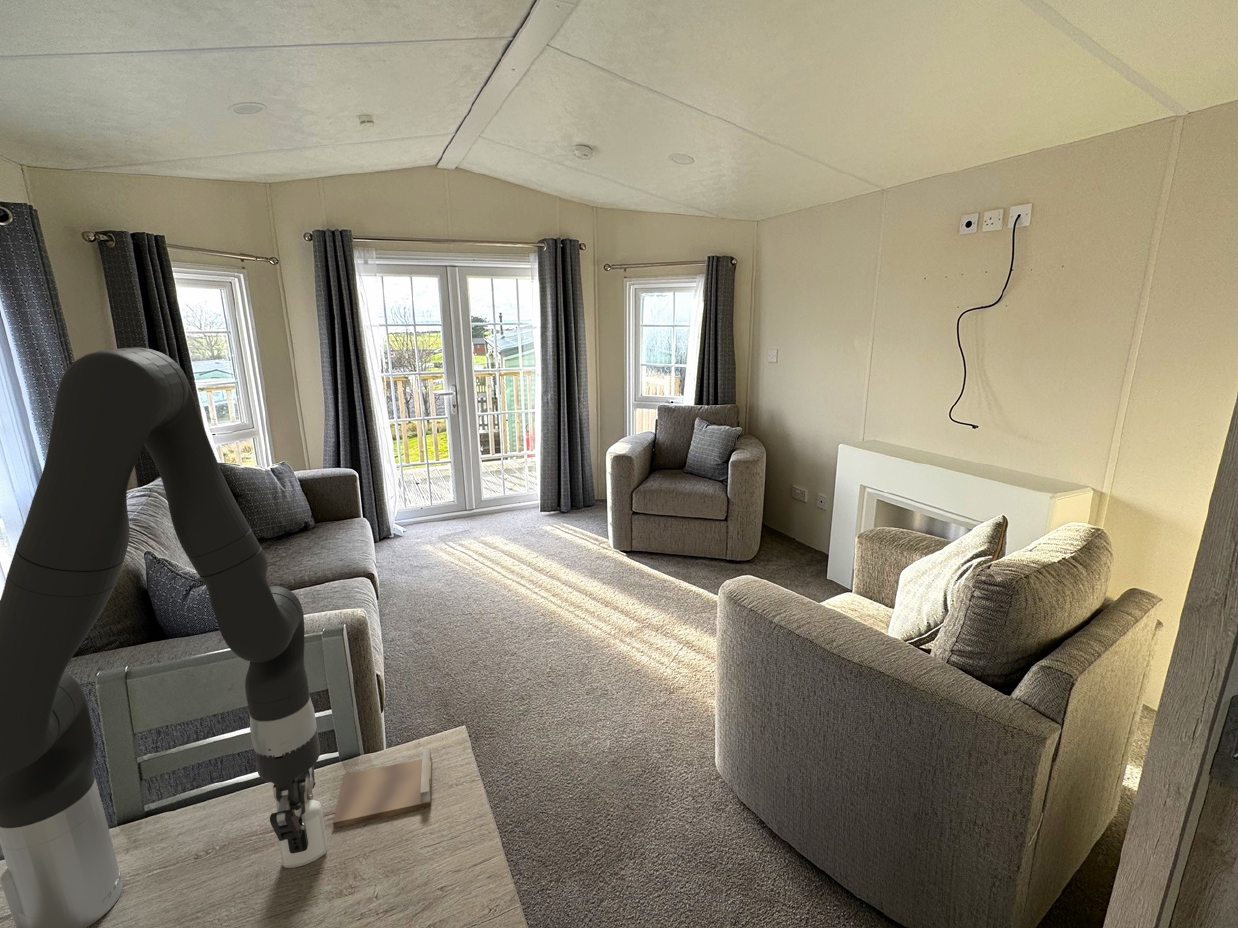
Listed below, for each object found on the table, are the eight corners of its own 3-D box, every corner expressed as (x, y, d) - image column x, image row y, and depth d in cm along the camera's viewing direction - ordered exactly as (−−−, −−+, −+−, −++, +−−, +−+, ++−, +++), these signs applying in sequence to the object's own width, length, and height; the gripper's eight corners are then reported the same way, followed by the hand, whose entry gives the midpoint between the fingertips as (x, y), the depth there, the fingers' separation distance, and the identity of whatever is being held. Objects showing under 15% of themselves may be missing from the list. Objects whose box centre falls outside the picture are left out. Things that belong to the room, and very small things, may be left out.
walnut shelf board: (333, 828, 89) (331, 811, 88) (344, 779, 98) (342, 764, 97) (431, 806, 92) (429, 790, 92) (432, 761, 102) (431, 747, 101)
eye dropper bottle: (316, 870, 82) (304, 797, 79) (277, 868, 82) (264, 796, 79) (333, 843, 86) (322, 773, 83) (295, 841, 86) (283, 772, 83)
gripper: (268, 706, 85) (285, 805, 89) (236, 777, 71) (258, 890, 76) (325, 696, 87) (339, 794, 91) (304, 764, 73) (322, 875, 78)
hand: (302, 837), depth 83 cm, fingers closed on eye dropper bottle, 3 cm apart
